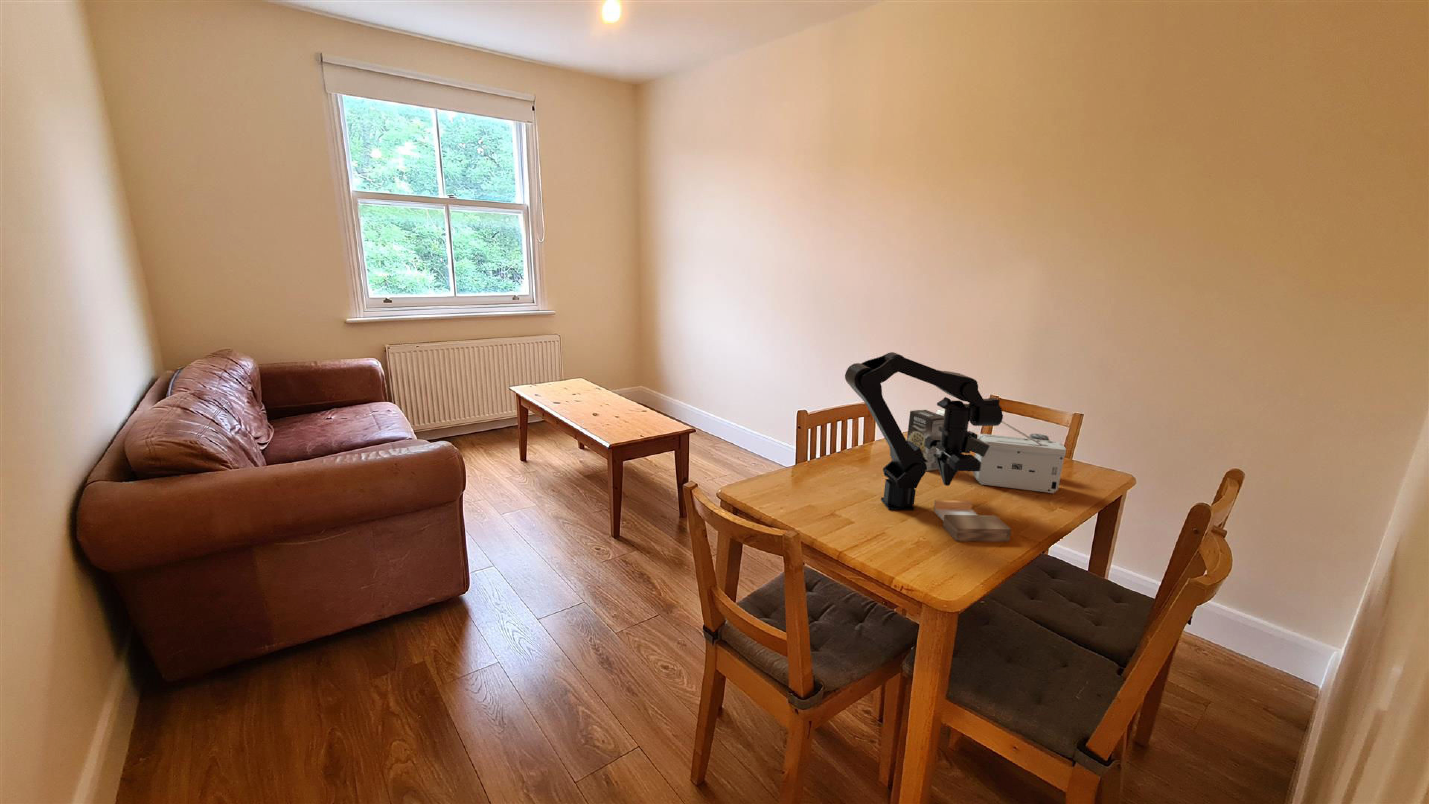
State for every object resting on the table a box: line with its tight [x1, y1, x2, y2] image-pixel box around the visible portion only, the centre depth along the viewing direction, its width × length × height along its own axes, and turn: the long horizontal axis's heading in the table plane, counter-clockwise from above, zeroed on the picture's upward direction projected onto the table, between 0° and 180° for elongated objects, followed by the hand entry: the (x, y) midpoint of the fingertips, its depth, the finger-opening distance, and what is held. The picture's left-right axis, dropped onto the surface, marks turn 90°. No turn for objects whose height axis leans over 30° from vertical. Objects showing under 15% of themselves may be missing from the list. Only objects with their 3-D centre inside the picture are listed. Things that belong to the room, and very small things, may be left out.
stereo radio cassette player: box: [972, 420, 1067, 494], centre depth 156 cm, size 21×8×20 cm, turn 74°
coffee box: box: [906, 409, 944, 472], centre depth 170 cm, size 9×6×16 cm
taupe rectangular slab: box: [942, 514, 1012, 543], centre depth 128 cm, size 12×7×3 cm, turn 92°
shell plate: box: [933, 500, 978, 521], centre depth 136 cm, size 9×8×3 cm
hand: (946, 485), depth 143 cm, fingers closed
